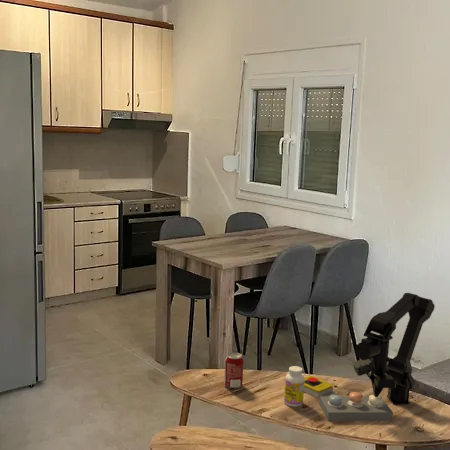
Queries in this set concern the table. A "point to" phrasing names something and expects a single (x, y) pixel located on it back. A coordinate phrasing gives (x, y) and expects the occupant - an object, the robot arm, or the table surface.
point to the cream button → (375, 400)
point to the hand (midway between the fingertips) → (375, 396)
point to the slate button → (335, 399)
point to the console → (355, 410)
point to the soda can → (233, 370)
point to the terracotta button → (356, 397)
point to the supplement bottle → (294, 387)
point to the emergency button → (317, 387)
